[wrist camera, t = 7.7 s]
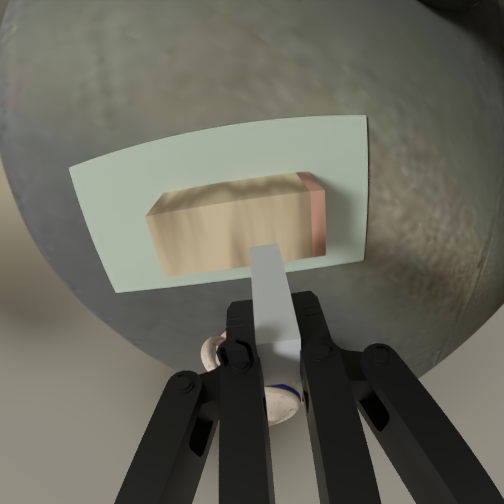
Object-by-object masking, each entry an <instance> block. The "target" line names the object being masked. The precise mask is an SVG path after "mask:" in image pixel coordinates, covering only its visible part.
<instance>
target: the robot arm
mask: <svg viewBox="0 0 504 504" xmlns="http://www.w3.org/2000/svg"><path fill="white" fill-rule="evenodd" d="M421 1H422V2H424V3H426V4H428V5H430V6H433V7H435V8H438V9H441V10H445V11H460V10H465V9H470V8H472V7H475V6H476V5H478V3H479V2H480V1H481V0H421ZM249 248H250V264H251V279H252V295H253V299H252V300H245V301H236V302H232V303H231V304H230V306H229V308H228V310H227V323H226V327H227V328H226V340H225V341H223V342H222V343H221V344H220V345H219V346H218V348H217V351H216V354H217V357H218V359H219V362H220V365H219V366H218V367H217V368H215V369H213V370H211V371H209V372H206V373H203V374H200V375H198V374H197V373H195V372H193V371H180V372H177V373H176V374H174V375H173V376H171V378H170V379H169V380H168V382H167V384H166V387H165V389H164V391H163V393H162V395H161V397H160V399H159V402H158V404H157V406H156V408H155V411H154V413H153V415H152V417H151V419H150V422H149V424H148V426H147V428H146V431H145V433H144V435H143V437H142V440H141V442H140V444H139V447H138V449H137V451H136V453H135V456H134V458H133V460H132V463H131V465H130V467H129V470H128V472H127V475H126V477H125V479H124V481H123V484H122V486H121V489H120V491H119V493H118V496H117V498H116V501H115V503H114V504H192V502H193V499H194V496H195V493H196V490H197V487H198V483H199V480H200V478H201V474H202V471H203V468H204V465H205V462H206V459H207V455H208V453H209V449H210V446H211V443H212V440H213V437H214V434H215V430H216V426H217V424H218V421H219V419H220V427H219V504H275V495H274V484H273V472H272V460H271V449H270V438H269V426H268V415H267V403H266V396H265V389H264V386H269V385H277V384H285V383H292V382H298V381H301V380H302V386H303V396H302V402H303V401H304V404H305V410H306V416H307V422H308V428H309V433H310V440H311V446H312V452H313V458H314V464H315V471H316V478H317V484H318V491H319V498H320V504H381V500H380V496H379V491H378V486H377V482H376V478H375V474H374V469H373V465H372V461H371V457H370V454H369V449H368V446H367V442H366V438H365V434H364V431H363V427H362V423H361V420H360V416H359V413H358V409H359V411H360V412H361V414H362V416H363V417H364V419H365V421H366V422H367V424H368V425H369V427H370V429H371V430H372V432H373V434H374V435H375V437H376V438H377V440H378V442H379V443H380V445H381V447H382V448H383V450H384V451H385V453H386V455H387V456H388V458H389V460H390V461H391V463H392V465H393V466H394V468H395V469H396V471H397V473H398V474H399V476H400V477H401V479H402V481H403V483H404V484H405V486H406V488H407V489H408V491H409V492H410V494H411V496H412V497H413V499H414V501H415V502H416V504H504V499H503V498H502V496H501V494H500V492H499V491H498V489H497V487H496V486H495V484H494V483H493V481H492V480H491V478H490V477H489V475H488V474H487V472H486V471H485V469H484V468H483V466H482V465H481V463H480V462H479V460H478V459H477V458H476V456H475V455H474V453H473V452H472V450H471V449H470V448H469V446H468V445H467V443H466V442H465V440H464V439H463V438H462V436H461V435H460V434H459V432H458V431H457V430H456V428H455V427H454V425H453V424H452V423H451V422H450V420H449V419H448V417H447V416H446V415H445V413H444V412H443V411H442V409H441V408H440V407H439V406H438V404H437V403H436V402H435V400H434V399H433V398H432V396H431V395H430V394H429V393H428V391H427V390H426V389H425V388H424V386H423V385H422V384H421V382H420V381H419V380H418V379H417V377H416V376H415V375H414V374H413V372H412V371H411V370H410V369H409V368H408V366H407V365H406V364H405V363H404V361H403V360H402V359H401V358H400V357H399V355H398V354H397V353H396V352H395V351H394V350H393V349H392V348H391V347H390V346H388V345H385V344H380V343H376V344H372V345H369V346H368V347H367V348H365V350H364V351H363V352H358V351H348V350H344V349H341V348H339V347H338V346H336V344H335V343H334V342H333V341H332V339H331V336H330V333H329V330H328V327H327V324H326V321H325V318H324V315H323V312H322V309H321V307H320V303H319V300H318V297H317V296H316V295H315V294H314V293H312V292H311V291H305V292H298V293H291V294H290V290H289V286H288V282H287V277H286V273H285V269H284V265H283V261H282V257H281V253H280V249H279V245H278V243H274V244H267V245H259V246H252V247H249ZM357 408H358V409H357Z"/></svg>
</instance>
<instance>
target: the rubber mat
mask: <svg viewBox="0 0 504 504" xmlns="http://www.w3.org/2000/svg"><path fill="white" fill-rule="evenodd" d="M69 170H70V174H71V177H72V181H73V184H74V187H75V191H76V194H77V197H78V200H79V203H80V206H81V209H82V212H83V215H84V218H85V221H86V223H87V226H88V229H89V231H90V234H91V237H92V239H93V242H94V244H95V247H96V249H97V252H98V254H99V256H100V259H101V261H102V263H103V266H104V268H105V270H106V273H107V275H108V277H109V279H110V281H111V283H112V286H113V288H114V290H115V292H116V293H119V292H129V291H138V290H148V289H157V288H166V287H175V286H183V285H192V284H200V283H208V282H216V281H224V280H232V279H240V278H247V277H251V266H248V267H241V268H233V269H226V270H218V271H211V272H203V273H195V274H187V275H179V276H171V277H165V276H164V273H163V270H162V267H161V264H160V261H159V259H158V256H157V253H156V250H155V247H154V244H153V241H152V238H151V234H150V231H149V228H148V225H147V222H146V218H145V216H146V215H147V213H148V212H149V211H150V209H151V208H152V207H153V205H154V204H155V203H156V201H157V200H158V199H159V198H160V196H161V195H162V194H163V193H166V192H171V191H176V190H181V189H187V188H192V187H198V186H203V185H209V184H215V183H221V182H228V181H234V180H241V179H248V178H255V177H263V176H270V175H279V174H287V173H296V172H306V171H308V172H309V174H310V175H311V176H312V177H313V178H314V179H315V180H316V181H317V182H318V183H319V184H320V185H321V186H322V187H323V189H324V190H325V212H326V256H320V257H313V258H306V259H299V260H292V261H285V262H283V265H284V269H285V272H291V271H298V270H305V269H311V268H318V267H325V266H331V265H338V264H344V263H350V262H357V261H363V260H364V251H365V238H366V222H367V198H368V145H367V122H366V115H330V116H308V117H294V118H282V119H272V120H263V121H255V122H247V123H240V124H233V125H227V126H221V127H215V128H209V129H204V130H199V131H194V132H189V133H184V134H179V135H175V136H171V137H166V138H162V139H158V140H154V141H150V142H147V143H143V144H139V145H136V146H132V147H129V148H125V149H122V150H118V151H115V152H112V153H109V154H106V155H103V156H100V157H97V158H94V159H91V160H88V161H85V162H82V163H80V164H77V165H74V166H72V167H70V168H69Z"/></svg>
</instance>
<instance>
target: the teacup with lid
mask: <svg viewBox="0 0 504 504" xmlns="http://www.w3.org/2000/svg"><path fill="white" fill-rule="evenodd" d="M225 340H226V331H225V332H224V333H223V334H222V335H221V336H213V337H211V338H209V339H208V340H206V341H205V342H204V344H203V346H202V349H201V359H202V362H203V364H204V366H205V368H206V369H207V371H208V372H209V371H211V370H213V369H215V368H217V367H218V366H219V365H220V362H219V359H218V357H217V354H216V361H215V359H214V357H213V352H212V350H213V346H214V345H217V348H218V346H219V345H220V344H221V343H222V342H223V341H225ZM217 348H216V351H217ZM264 389H265V396H266V403H267V415H268V426H271V425H273V424H277V423H280V422H282V421H285V420H286V419H288V418H290V417H291V416H293V415H294V414H295V413H296V412H297V410H298V408H299V406H300V402H301V397H300V395H299V393H298V392H297V388H296V382H292V383H285V384H277V385H269V386H264Z"/></svg>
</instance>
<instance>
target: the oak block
mask: <svg viewBox="0 0 504 504" xmlns="http://www.w3.org/2000/svg"><path fill="white" fill-rule="evenodd" d="M145 218H146V222H147V225H148V228H149V231H150V234H151V238H152V241H153V244H154V247H155V250H156V253H157V256H158V259H159V261H160V264H161V267H162V270H163V273H164V276H165V277H171V276H179V275H187V274H195V273H203V272H211V271H218V270H226V269H233V268H241V267H248V266H251V264H250V248H249V247H252V246H259V245H267V244H274V243H278V245H279V249H280V253H281V257H282V261H283V262H285V261H292V260H299V259H306V258H313V257H320V256H326V212H325V190H324V189H323V187H322V186H321V185H320V184H319V183H318V182H317V181H316V180H315V179H314V178H313V177H312V176H311V175H310V174H309V172H308V171H306V172H296V173H287V174H279V175H270V176H263V177H255V178H248V179H241V180H234V181H228V182H221V183H215V184H209V185H203V186H198V187H192V188H187V189H181V190H176V191H171V192H166V193H163V194H162V195H161V196H160V198H159V199H158V200H157V201H156V203H155V204H154V205H153V207H152V208H151V209H150V211H149V212H148V213H147V215H146V216H145Z"/></svg>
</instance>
